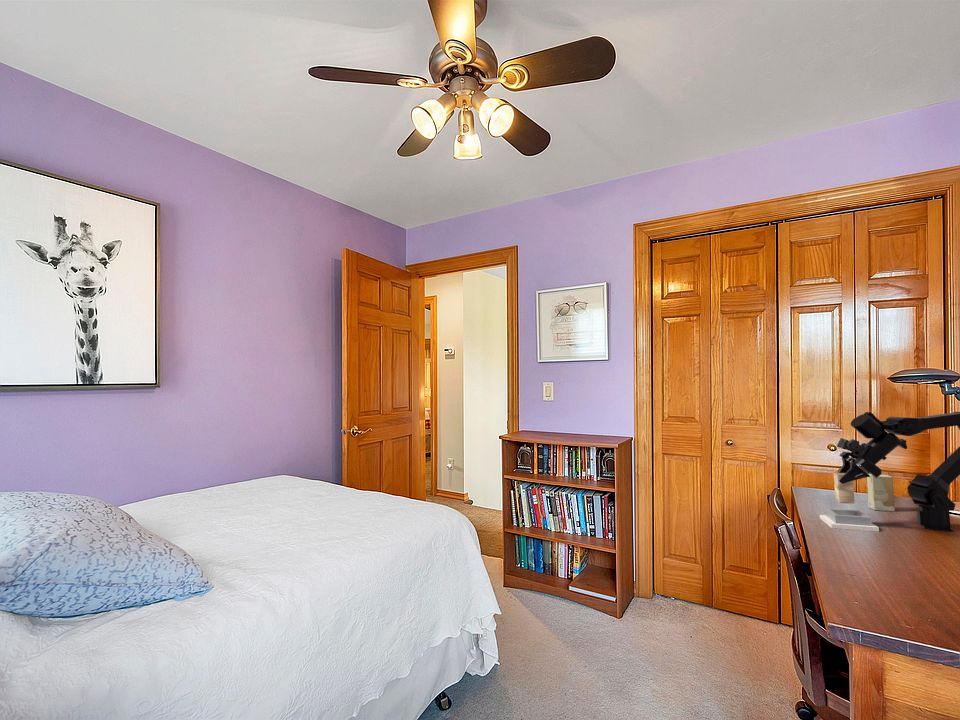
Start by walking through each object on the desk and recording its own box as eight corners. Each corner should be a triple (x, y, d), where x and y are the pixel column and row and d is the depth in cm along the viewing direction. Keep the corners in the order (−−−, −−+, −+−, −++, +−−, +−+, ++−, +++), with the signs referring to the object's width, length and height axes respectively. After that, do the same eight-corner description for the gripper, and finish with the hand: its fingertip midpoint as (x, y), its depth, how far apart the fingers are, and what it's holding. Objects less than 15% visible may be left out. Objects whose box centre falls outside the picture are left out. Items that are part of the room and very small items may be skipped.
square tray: (863, 521, 151) (862, 509, 152) (879, 531, 141) (878, 519, 141) (819, 518, 156) (819, 507, 156) (831, 528, 145) (830, 516, 145)
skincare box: (874, 510, 164) (871, 475, 164) (868, 507, 168) (865, 473, 169) (896, 511, 162) (893, 476, 163) (889, 508, 166) (886, 474, 167)
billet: (850, 501, 150) (848, 473, 151) (854, 503, 147) (852, 475, 147) (835, 500, 152) (833, 472, 153) (839, 503, 148) (837, 474, 149)
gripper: (844, 427, 158) (808, 458, 162) (865, 432, 141) (824, 467, 144) (875, 451, 154) (837, 482, 158) (900, 459, 137) (857, 494, 141)
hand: (838, 481), depth 150 cm, fingers closed on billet, 4 cm apart
